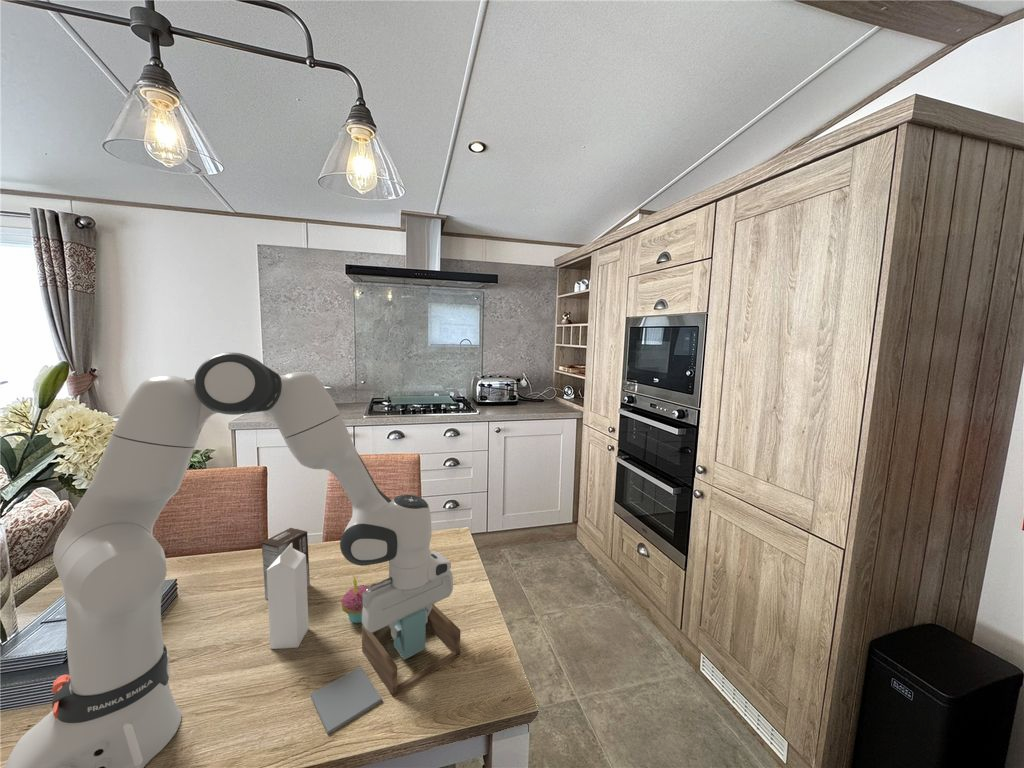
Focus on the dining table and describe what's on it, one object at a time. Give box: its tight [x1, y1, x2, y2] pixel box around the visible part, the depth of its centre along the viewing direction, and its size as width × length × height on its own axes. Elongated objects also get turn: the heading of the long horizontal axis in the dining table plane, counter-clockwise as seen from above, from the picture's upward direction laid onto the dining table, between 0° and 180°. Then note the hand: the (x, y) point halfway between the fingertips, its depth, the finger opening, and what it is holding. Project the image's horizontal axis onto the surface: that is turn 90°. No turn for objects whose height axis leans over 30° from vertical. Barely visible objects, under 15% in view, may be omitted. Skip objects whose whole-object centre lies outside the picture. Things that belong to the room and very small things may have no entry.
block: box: [393, 608, 427, 660], centre depth 88 cm, size 5×5×9 cm
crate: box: [361, 603, 461, 697], centre depth 89 cm, size 16×15×6 cm
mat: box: [310, 666, 383, 735], centre depth 77 cm, size 10×10×1 cm
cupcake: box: [341, 575, 370, 624], centre depth 99 cm, size 9×8×12 cm
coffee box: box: [261, 527, 311, 600], centre depth 108 cm, size 9×6×16 cm
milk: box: [267, 543, 310, 650], centre depth 91 cm, size 6×6×22 cm
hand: (409, 629), depth 88 cm, fingers closed on block, 5 cm apart
